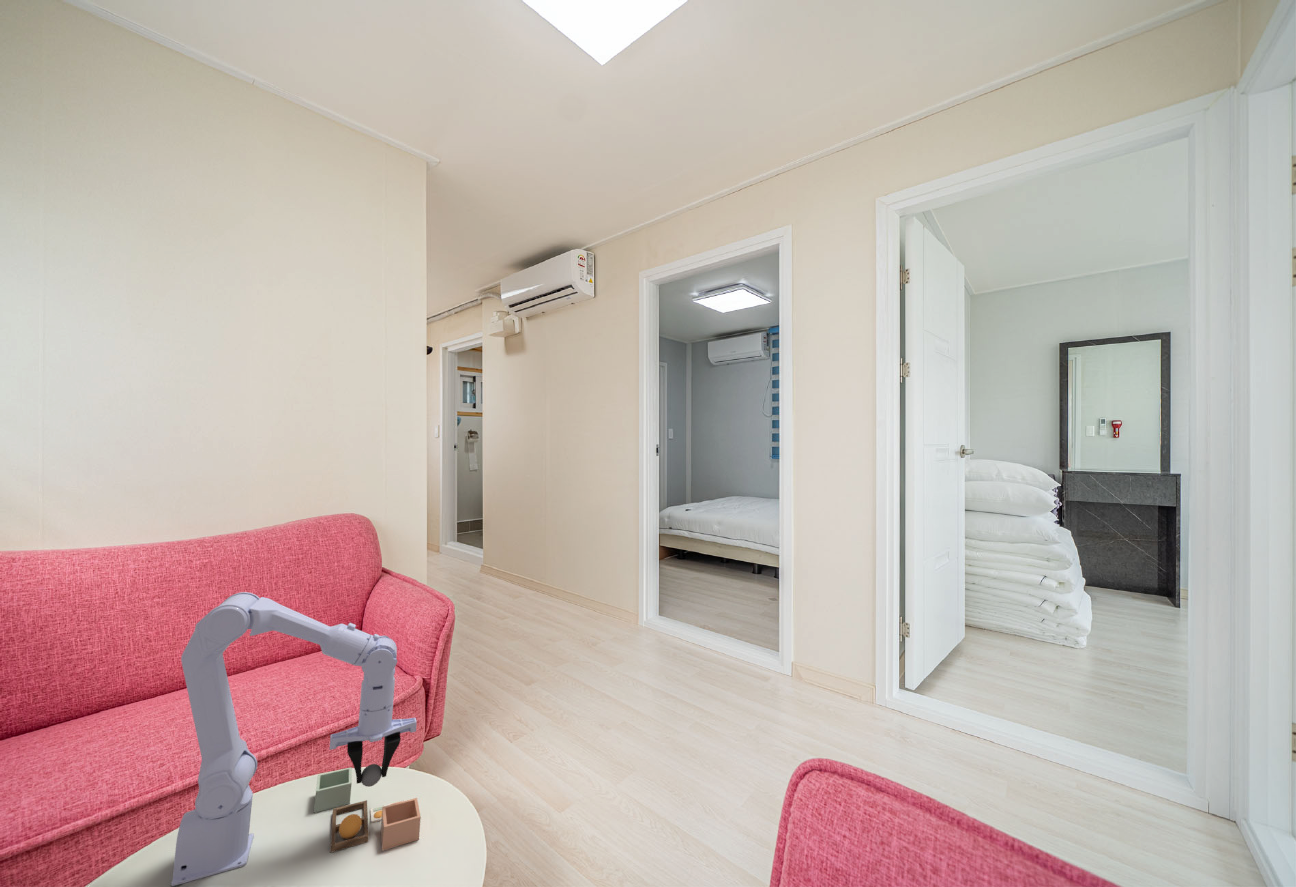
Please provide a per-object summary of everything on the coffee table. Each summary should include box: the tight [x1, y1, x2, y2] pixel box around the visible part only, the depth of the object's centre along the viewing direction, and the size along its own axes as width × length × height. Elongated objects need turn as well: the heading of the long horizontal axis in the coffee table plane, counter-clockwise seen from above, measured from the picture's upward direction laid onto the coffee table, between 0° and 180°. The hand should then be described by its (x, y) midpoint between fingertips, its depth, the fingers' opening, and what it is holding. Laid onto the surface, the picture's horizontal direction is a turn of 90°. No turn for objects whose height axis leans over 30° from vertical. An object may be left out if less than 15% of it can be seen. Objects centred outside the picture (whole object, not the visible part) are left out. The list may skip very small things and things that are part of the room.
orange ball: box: [338, 813, 363, 840], centre depth 91 cm, size 4×4×4 cm
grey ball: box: [361, 763, 382, 788], centre depth 95 cm, size 4×4×4 cm
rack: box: [329, 799, 370, 854], centre depth 93 cm, size 6×11×1 cm, turn 31°
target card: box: [369, 799, 405, 824], centre depth 98 cm, size 6×4×1 cm, turn 121°
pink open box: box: [380, 797, 422, 852], centre depth 92 cm, size 6×6×4 cm
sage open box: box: [313, 766, 353, 814], centre depth 101 cm, size 6×6×4 cm
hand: (371, 777), depth 95 cm, fingers closed on grey ball, 4 cm apart
